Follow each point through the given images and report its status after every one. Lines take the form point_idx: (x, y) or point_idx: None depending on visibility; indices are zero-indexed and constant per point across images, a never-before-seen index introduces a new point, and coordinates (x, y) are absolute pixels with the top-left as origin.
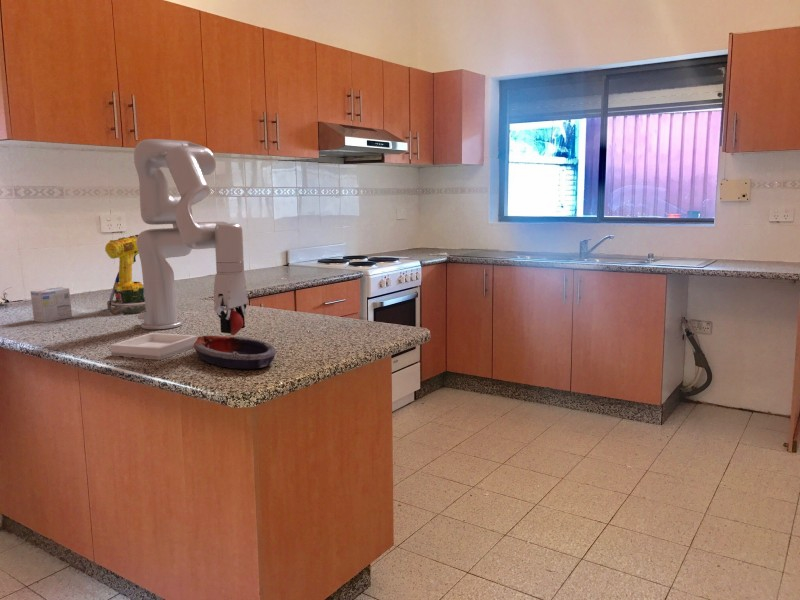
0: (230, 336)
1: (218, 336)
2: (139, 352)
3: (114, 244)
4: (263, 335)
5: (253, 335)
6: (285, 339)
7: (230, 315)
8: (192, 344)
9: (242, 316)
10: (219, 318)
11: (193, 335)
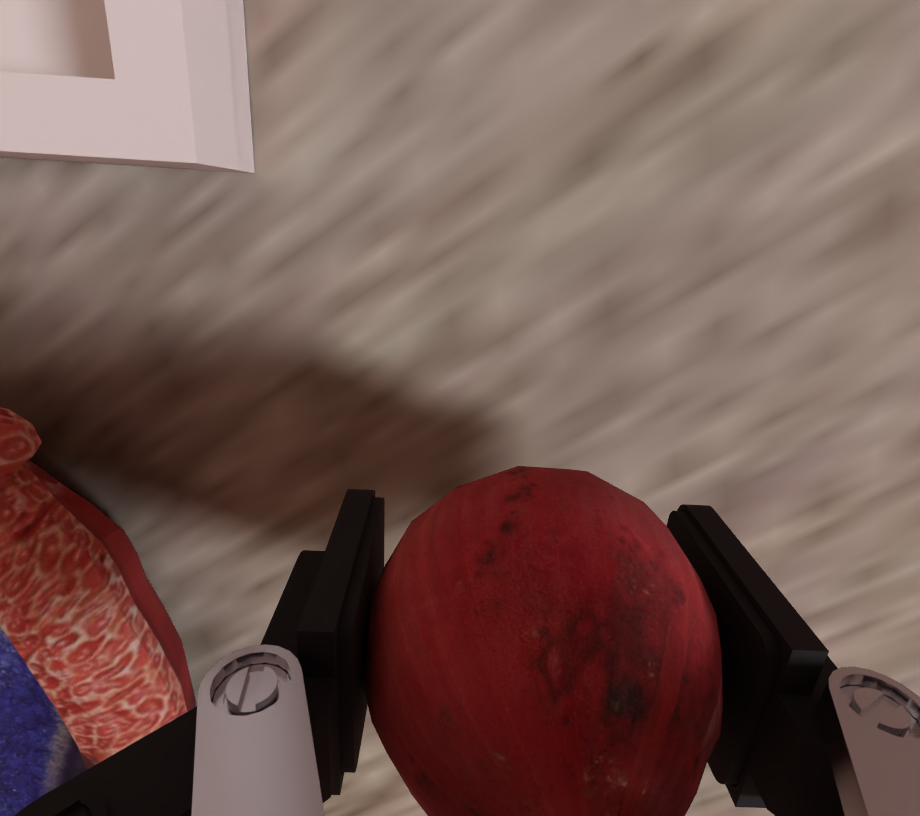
0: (111, 749)
1: (33, 645)
2: None
3: None
4: (864, 578)
5: (869, 489)
6: (699, 791)
7: (424, 804)
8: (103, 161)
9: (716, 771)
10: (223, 668)
11: (181, 63)
